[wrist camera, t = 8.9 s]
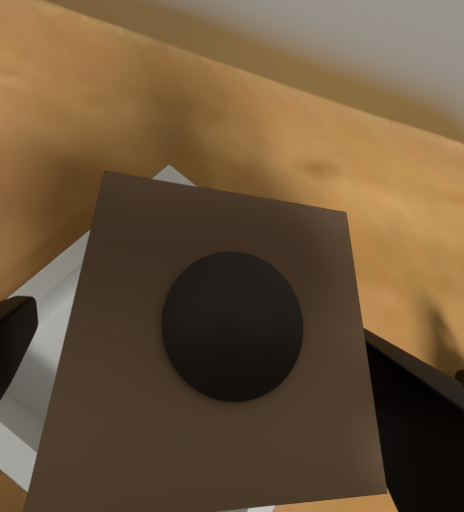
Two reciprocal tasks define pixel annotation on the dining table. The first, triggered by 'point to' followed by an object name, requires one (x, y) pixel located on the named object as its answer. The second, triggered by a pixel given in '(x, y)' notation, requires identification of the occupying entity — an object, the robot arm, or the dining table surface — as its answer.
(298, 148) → the dining table surface
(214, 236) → the walnut block
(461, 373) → the valve
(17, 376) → the tray
